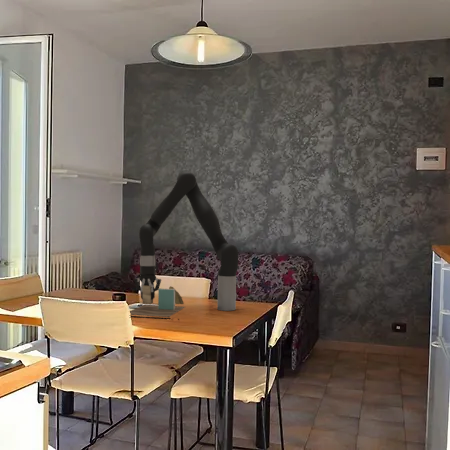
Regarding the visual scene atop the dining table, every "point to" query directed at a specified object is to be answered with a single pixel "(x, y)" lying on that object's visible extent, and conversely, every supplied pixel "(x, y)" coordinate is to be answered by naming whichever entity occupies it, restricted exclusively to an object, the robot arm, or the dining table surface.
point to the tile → (166, 299)
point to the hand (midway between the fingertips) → (147, 299)
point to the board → (154, 312)
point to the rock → (177, 297)
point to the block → (147, 295)
